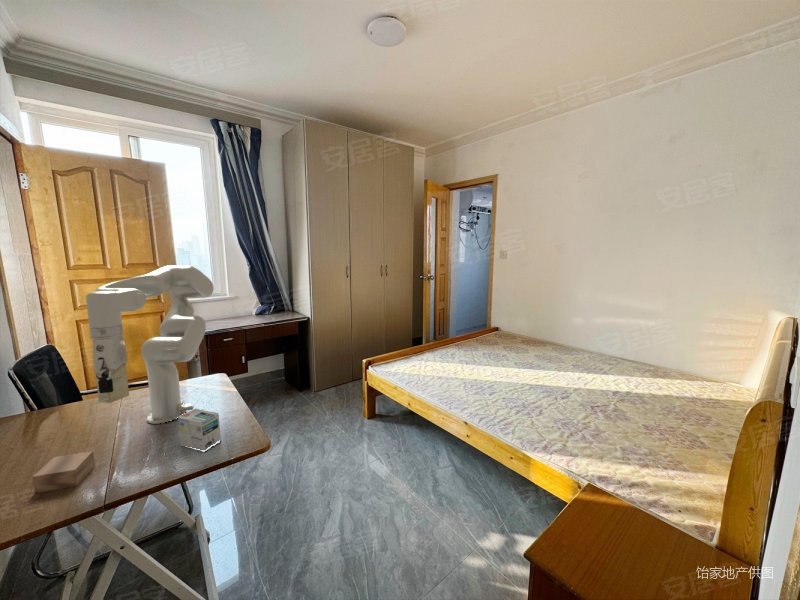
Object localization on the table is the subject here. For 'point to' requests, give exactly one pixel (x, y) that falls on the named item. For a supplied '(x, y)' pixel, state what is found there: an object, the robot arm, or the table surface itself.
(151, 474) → the table surface
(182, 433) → the light bulb box
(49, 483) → the tan flat block
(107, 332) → the robot arm
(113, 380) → the skincare box
